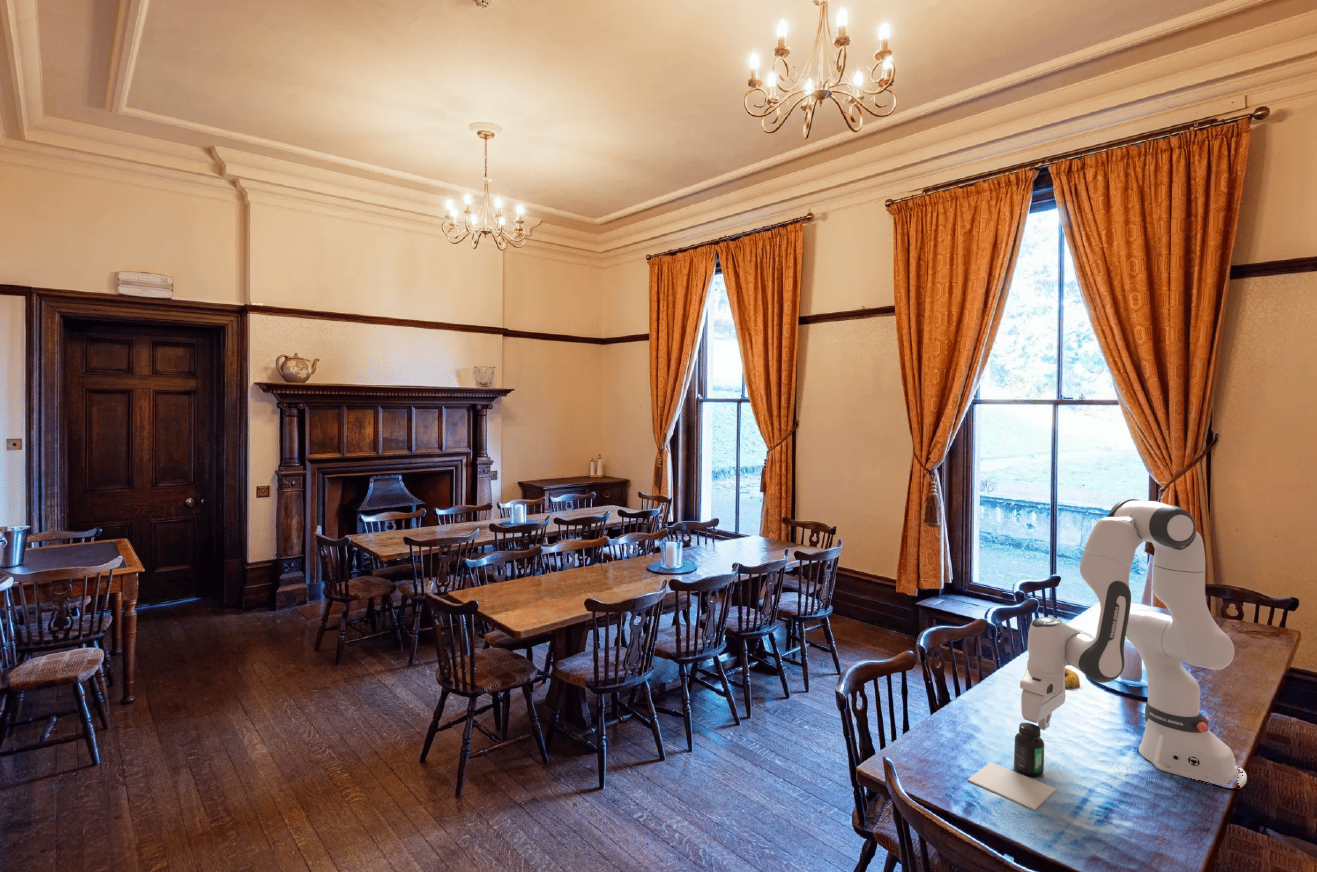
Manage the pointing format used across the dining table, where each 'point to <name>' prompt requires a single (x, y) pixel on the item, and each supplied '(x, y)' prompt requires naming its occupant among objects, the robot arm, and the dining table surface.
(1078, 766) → the dining table surface
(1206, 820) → the dining table surface
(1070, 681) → the bagel
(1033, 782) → the mat
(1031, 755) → the supplement bottle
